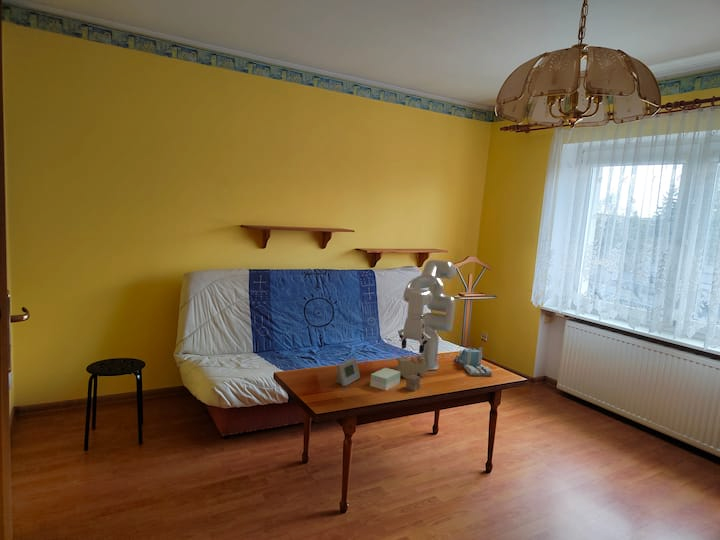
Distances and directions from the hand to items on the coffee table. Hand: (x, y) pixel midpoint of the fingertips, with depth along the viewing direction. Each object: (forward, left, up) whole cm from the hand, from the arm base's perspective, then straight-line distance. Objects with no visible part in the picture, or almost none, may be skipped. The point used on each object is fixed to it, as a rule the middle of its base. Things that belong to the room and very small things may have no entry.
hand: (412, 350), depth 229 cm
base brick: (+4, -12, -20) cm, 23 cm away
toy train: (-17, -8, -20) cm, 28 cm away
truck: (-55, +12, -20) cm, 60 cm away
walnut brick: (-1, +1, -20) cm, 20 cm away
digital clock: (+14, -28, -20) cm, 37 cm away
